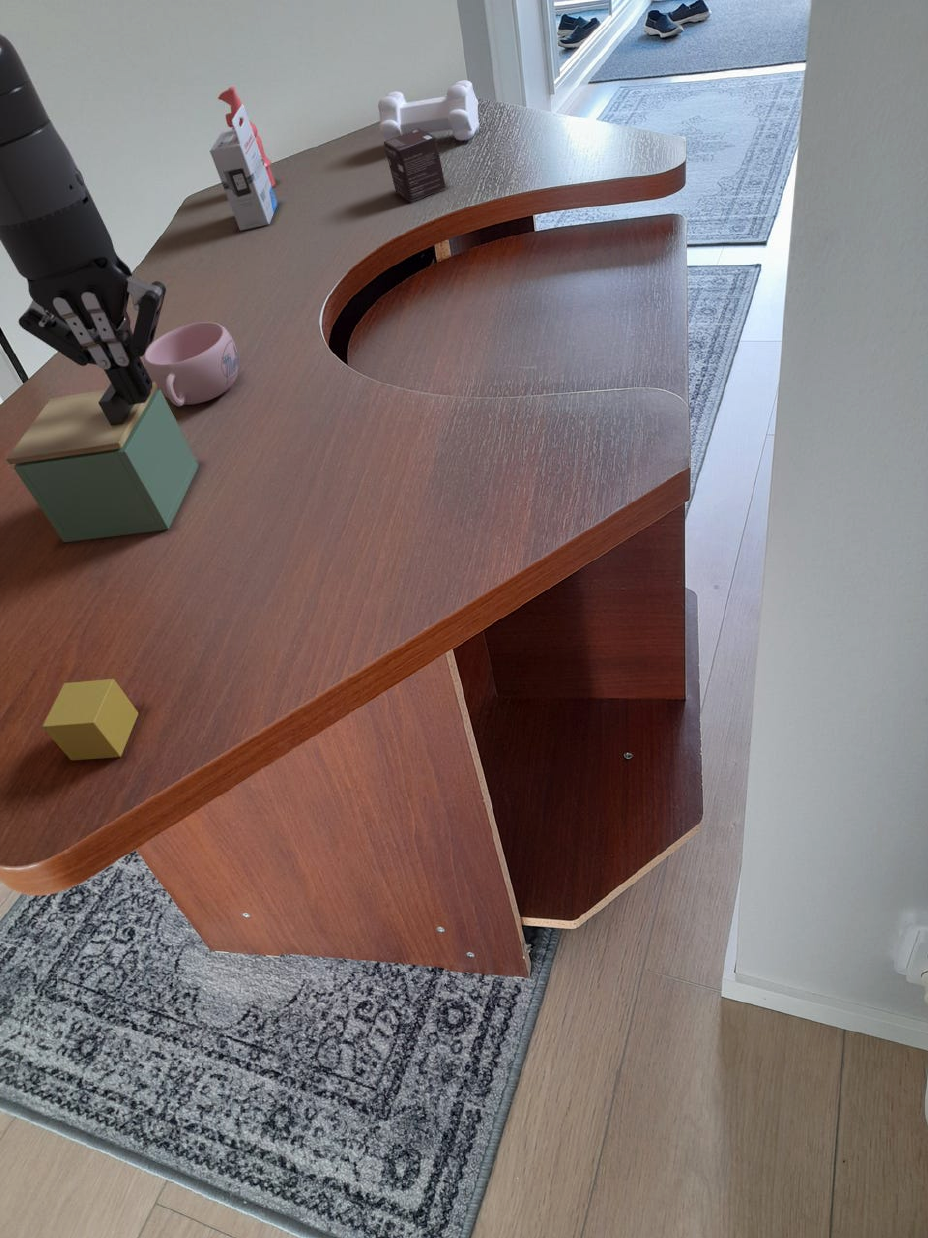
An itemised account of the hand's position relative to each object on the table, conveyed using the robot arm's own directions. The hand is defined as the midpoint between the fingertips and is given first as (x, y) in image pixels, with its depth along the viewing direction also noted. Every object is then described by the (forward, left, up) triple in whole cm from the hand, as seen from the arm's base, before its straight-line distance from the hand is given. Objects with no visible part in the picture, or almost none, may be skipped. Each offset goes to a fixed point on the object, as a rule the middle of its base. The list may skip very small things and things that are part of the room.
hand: (140, 398), depth 79 cm
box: (+60, +39, -11) cm, 73 cm away
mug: (+10, +17, -11) cm, 23 cm away
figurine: (+51, +71, -11) cm, 88 cm away
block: (-19, -22, -11) cm, 31 cm away
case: (-4, +4, -11) cm, 12 cm away
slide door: (-5, +4, -2) cm, 7 cm away
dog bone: (+75, +54, -11) cm, 93 cm away
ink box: (+43, +59, -11) cm, 74 cm away
